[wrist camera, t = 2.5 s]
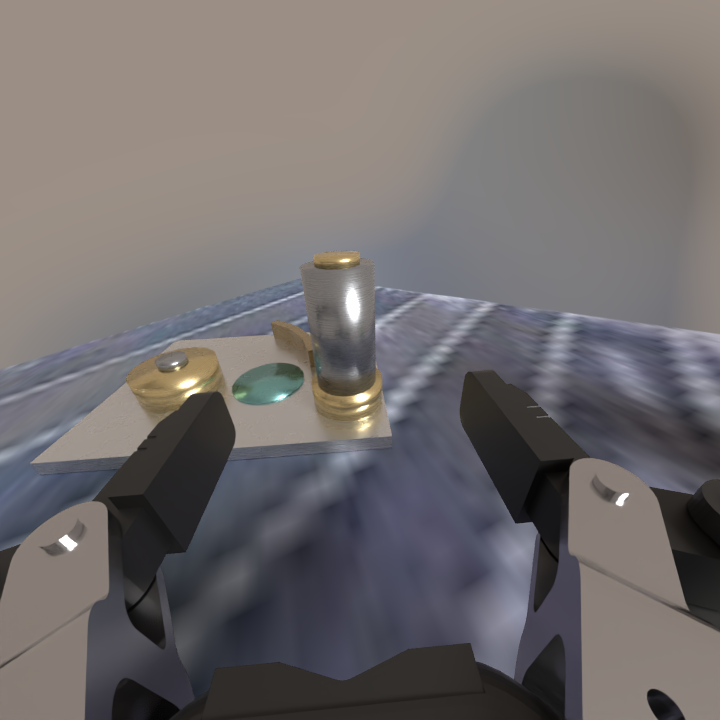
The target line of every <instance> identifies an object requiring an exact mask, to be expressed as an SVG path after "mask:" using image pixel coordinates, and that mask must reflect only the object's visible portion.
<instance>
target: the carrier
mask: <svg viewBox="0 0 720 720" xmlns="http://www.w3.org/2000/svg"><path fill="white" fill-rule="evenodd" d="M271 326H272V330H273V334H274V335H261V336H245V337H230V338H214V339H199V340H183V341H175V342H174V343H173V344H172V345H171V346H169V347H168V348H167V349H166V350H165V351H163V352H162V353H161V354H160V355H158V356H155V357H153V358H151V359H148V360H146V361H145V362H143V363H141V364H139V365H138V366H136V367H135V368H134V369H133V370H132V371H131V372H130V373H129V374H128V376H127V378H126V383H125V384H124V385H123V386H122V387H120V388H119V389H118V390H117V391H116V392H115V393H113V394H112V395H111V396H110V397H109V398H107V399H106V400H105V401H104V402H103V403H101V404H100V405H99V406H98V407H97V408H95V409H94V410H93V411H92V412H91V413H89V414H88V415H87V416H86V417H85V418H83V419H82V420H81V421H80V422H79V423H77V424H76V425H75V426H74V427H73V428H72V429H70V430H69V431H68V432H67V433H66V434H64V435H63V436H62V437H61V438H60V439H58V440H57V441H56V442H55V443H54V444H52V445H51V446H50V447H49V448H48V449H46V450H45V451H44V452H43V453H42V454H40V455H39V456H38V457H37V458H36V459H34V460H33V461H32V462H31V463H30V465H31V466H32V467H33V468H34V469H35V470H36V471H37V472H38V473H39V474H40V475H46V474H59V473H72V472H85V471H98V470H111V469H120V468H121V467H122V465H123V464H124V463H125V462H126V461H127V459H128V458H129V457H130V456H131V455H132V454H133V452H134V451H137V448H138V447H139V445H140V444H141V443H142V442H143V441H144V439H147V436H148V435H149V434H150V432H151V431H152V430H153V429H154V428H155V426H156V425H157V424H158V423H159V422H160V421H162V420H163V419H164V418H166V417H167V416H169V415H170V414H171V413H173V412H174V411H176V410H178V409H179V408H180V407H181V405H182V404H183V403H184V402H185V401H186V399H187V398H188V397H189V396H190V395H191V394H193V393H203V392H216V391H218V392H220V393H221V394H222V396H223V398H224V400H225V403H226V406H227V408H228V411H229V413H230V416H231V418H232V421H233V424H234V426H235V431H236V438H235V444H234V447H233V449H232V451H231V453H230V455H229V458H228V460H227V461H229V460H242V459H255V458H268V457H281V456H294V455H307V454H320V453H333V452H346V451H359V450H372V449H385V448H392V434H391V430H390V425H389V420H388V415H387V411H386V406H385V401H384V397H383V392H382V402H381V405H380V407H379V408H378V409H377V410H376V411H375V412H374V413H372V414H371V415H369V416H367V417H365V418H362V419H359V420H354V421H337V420H332V419H329V418H327V417H325V416H323V415H322V414H320V413H319V412H318V410H317V409H316V407H315V403H314V397H313V391H312V385H311V381H312V378H313V376H314V374H315V373H316V369H315V363H314V356H313V349H312V343H311V336H310V332H307V333H306V332H305V331H303V330H302V329H300V328H299V327H297V326H295V325H292V324H288V323H285V322H282V321H278V320H277V321H274V322H272V323H271ZM376 368H377V364H376Z"/></svg>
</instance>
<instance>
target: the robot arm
mask: <svg viewBox="0 0 720 720" xmlns="http://www.w3.org/2000/svg"><path fill="white" fill-rule="evenodd" d="M460 419H461V423H462V426H463V428H464V430H465V432H466V433H467V435H468V437H469V439H470V441H471V443H472V444H473V446H474V448H475V450H476V452H477V454H478V455H479V457H480V459H481V461H482V463H483V465H484V466H485V468H486V470H487V472H488V474H489V476H490V477H491V479H492V481H493V483H494V485H495V487H496V488H497V490H498V492H499V494H500V496H501V498H502V499H503V501H504V503H505V505H506V507H507V509H508V510H509V512H510V514H511V516H512V518H513V520H514V521H515V523H526V522H533V524H534V525H535V527H536V529H537V530H538V534H537V536H536V541H535V550H534V559H533V568H532V576H531V585H530V594H529V603H528V612H527V618H526V623H525V627H524V630H523V633H522V636H521V640H520V645H519V649H518V655H517V661H516V669H515V677H514V679H512V678H511V677H509V676H507V675H506V674H504V673H503V672H501V671H499V670H497V669H494V668H492V667H490V666H488V665H485V664H483V663H480V662H476V661H475V658H474V654H473V651H472V647H471V644H470V643H465V644H455V645H445V646H435V647H425V648H415V649H408V650H406V651H404V652H402V653H400V654H398V655H396V656H394V657H392V658H390V659H388V660H386V661H384V662H382V663H381V664H379V665H377V666H375V667H373V668H371V669H369V670H367V671H365V672H363V673H361V674H359V675H357V676H355V677H353V678H351V679H349V680H344V681H340V680H335V679H332V678H329V677H326V676H322V675H319V674H316V673H313V672H309V671H306V670H303V669H300V668H296V667H293V666H290V665H287V664H283V663H280V662H276V663H266V664H256V665H246V666H236V667H226V668H216V669H215V672H214V676H213V679H212V683H211V687H210V690H209V691H208V692H206V693H204V694H203V695H201V696H200V697H198V698H197V699H194V694H193V690H192V686H191V683H190V680H189V677H188V675H187V672H186V670H185V668H184V666H183V664H182V663H181V660H180V658H179V655H178V652H177V649H176V644H175V638H174V633H173V627H172V621H171V616H170V610H169V604H168V598H167V593H166V587H165V581H164V576H163V572H162V570H161V568H160V565H161V563H162V561H163V559H164V557H165V555H166V554H171V553H182V552H186V550H187V548H188V546H189V544H190V542H191V539H192V537H193V535H194V533H195V531H196V528H197V526H198V524H199V522H200V519H201V517H202V515H203V513H204V511H205V508H206V506H207V504H208V502H209V500H210V497H211V495H212V493H213V491H214V489H215V486H216V484H217V482H218V480H219V478H220V475H221V473H222V471H223V469H224V466H225V464H226V462H227V460H228V458H229V455H230V453H231V451H232V449H233V447H234V444H235V438H236V431H235V426H234V424H233V421H232V418H231V416H230V413H229V411H228V408H227V406H226V403H225V400H224V398H223V396H222V394H221V393H220V392H218V391H216V392H203V393H193V394H191V395H190V396H189V397H188V398H187V399H186V401H185V402H184V403H183V404H182V405H181V407H180V408H179V409H178V410H176V411H174V412H173V413H171V414H170V415H169V416H167V417H166V418H164V419H163V420H162V421H160V422H159V423H158V424H157V425H156V426H155V428H154V429H153V430H152V431H151V432H150V434H149V435H148V436H147V439H144V441H143V442H142V443H141V444H140V445H139V447H138V448H137V451H134V452H133V454H132V455H131V456H130V457H129V458H128V459H127V461H126V462H125V463H124V464H123V465H122V467H121V468H120V469H119V470H118V471H117V472H116V474H115V475H114V476H113V477H112V478H111V480H110V481H109V482H108V483H107V484H106V485H105V487H104V488H103V489H102V490H101V491H100V492H99V494H98V495H97V496H96V497H95V498H94V500H93V501H92V502H85V503H81V504H78V505H75V506H73V507H70V508H68V509H66V510H64V511H62V512H60V513H58V514H57V515H55V516H53V517H52V518H50V519H49V520H47V521H46V522H45V523H43V524H42V525H41V526H39V527H38V528H37V529H36V530H35V531H33V532H32V533H31V534H30V535H29V536H28V537H27V538H26V539H25V540H24V541H23V543H22V544H20V545H17V546H14V547H11V548H8V549H5V550H3V551H0V720H720V480H717V479H716V480H709V481H707V482H705V483H704V484H703V485H702V486H701V487H700V488H699V489H698V490H697V492H696V493H695V494H694V495H692V494H686V493H680V492H675V491H669V490H664V489H658V488H653V487H648V486H647V485H646V484H645V483H644V482H643V481H642V480H641V479H639V478H638V477H637V476H635V475H634V474H632V473H631V472H629V471H627V470H626V469H624V468H622V467H620V466H618V465H615V464H613V463H610V462H607V461H604V460H600V459H593V458H590V457H589V456H588V455H587V454H586V453H585V452H584V451H583V450H582V449H581V448H580V447H579V446H578V445H577V444H576V443H575V442H574V441H573V440H572V439H571V438H570V437H569V436H568V435H567V434H566V433H565V432H564V431H563V429H562V428H561V427H560V426H559V425H558V424H557V423H556V422H555V421H554V420H553V419H552V418H551V417H550V418H549V417H548V414H547V413H546V412H545V411H544V410H543V409H542V408H541V407H538V404H537V403H536V402H535V401H534V400H533V399H532V398H531V397H530V396H529V395H528V394H527V393H526V392H524V391H522V390H520V389H519V388H517V387H515V386H513V385H512V384H506V383H505V382H504V381H503V380H502V379H501V378H500V377H499V376H498V375H497V374H496V372H494V371H493V370H486V371H473V372H467V374H466V376H465V380H464V386H463V392H462V398H461V404H460Z"/></svg>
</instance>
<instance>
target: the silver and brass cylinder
mask: <svg viewBox="0 0 720 720" xmlns="http://www.w3.org/2000/svg"><path fill="white" fill-rule="evenodd" d="M300 270H301V276H302V283H303V290H304V296H305V303H306V310H307V316H308V323H309V330H310V336H311V343H312V349H313V356H314V363H315V369H316V373H315V374H314V376H313V378H312V381H311V385H312V391H313V397H314V403H315V407H316V409H317V410H318V412H319V413H320V414H322V415H323V416H325V417H327V418H329V419H332V420H337V421H354V420H359V419H362V418H365V417H367V416H369V415H371V414H372V413H374V412H375V411H376V410H377V409H378V408H379V407H380V405H381V402H382V375H381V373H380V371H379V370H378V369H377V368H376V347H375V290H374V262H373V261H371V260H368V259H362V258H360V253H358V252H355V251H333V252H324V253H319V254H316V255H314V256H313V261H312V262H308V263H305V264H303V265H302V266H301V267H300Z"/></svg>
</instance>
